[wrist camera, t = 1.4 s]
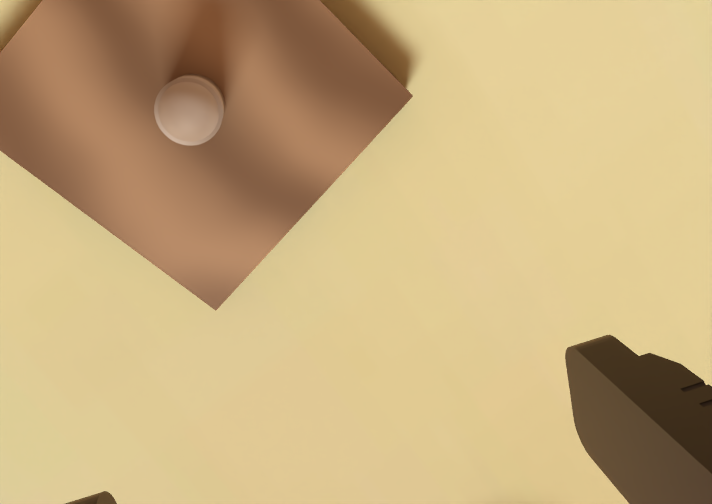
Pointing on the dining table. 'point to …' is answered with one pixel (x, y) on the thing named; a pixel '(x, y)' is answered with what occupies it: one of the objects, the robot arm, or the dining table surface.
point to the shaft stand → (192, 121)
